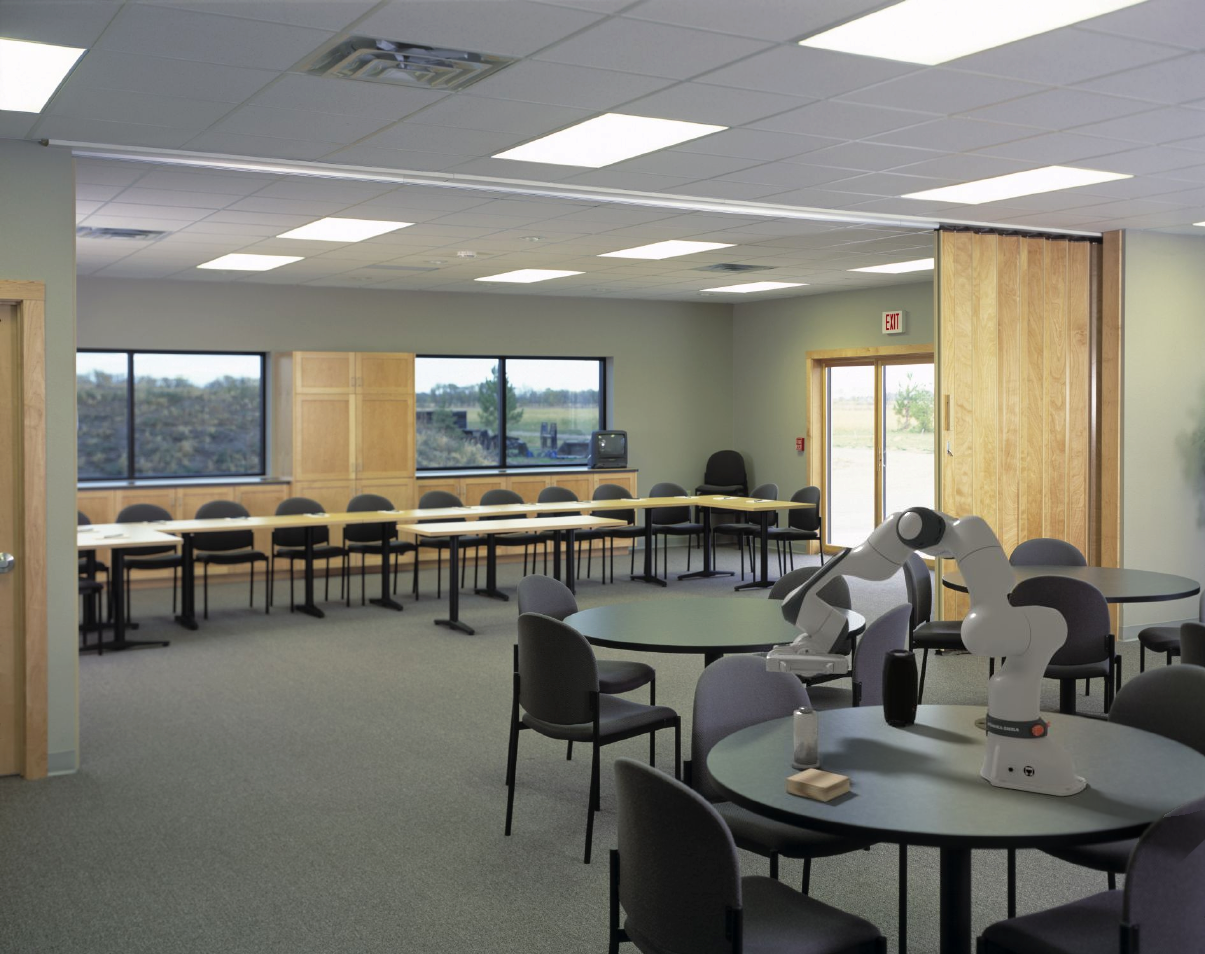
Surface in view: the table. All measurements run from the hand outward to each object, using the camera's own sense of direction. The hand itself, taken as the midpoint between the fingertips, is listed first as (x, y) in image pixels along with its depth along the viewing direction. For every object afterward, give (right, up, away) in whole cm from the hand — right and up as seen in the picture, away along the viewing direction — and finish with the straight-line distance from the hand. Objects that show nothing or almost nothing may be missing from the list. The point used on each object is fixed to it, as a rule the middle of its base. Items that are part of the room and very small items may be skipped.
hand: (806, 670), depth 283 cm
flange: (+57, -20, +24) cm, 65 cm away
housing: (-2, -21, -11) cm, 24 cm away
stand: (-3, -22, -30) cm, 37 cm away
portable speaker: (+30, -19, +27) cm, 45 cm away
